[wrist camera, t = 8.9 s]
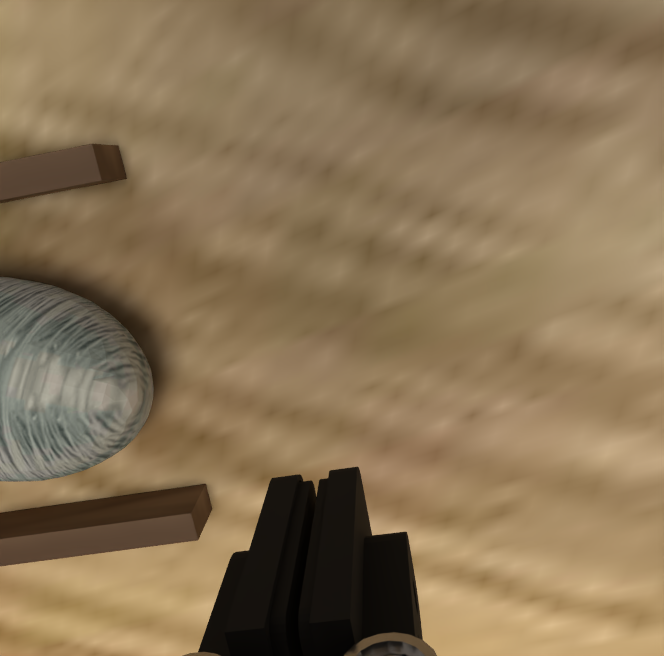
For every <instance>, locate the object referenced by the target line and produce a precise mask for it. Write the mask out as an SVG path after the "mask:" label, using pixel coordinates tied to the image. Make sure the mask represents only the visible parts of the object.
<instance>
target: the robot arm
mask: <svg viewBox="0 0 664 656" xmlns="http://www.w3.org/2000/svg"><path fill="white" fill-rule="evenodd" d="M184 656H437V655H436V653H435V651H434V649H432V648H431V647H430V646H429V645H428V644H427V643H425V642H424V641H423V639H422V629H421V620H420V611H419V603H418V595H417V588H416V581H415V575H414V569H413V563H412V557H411V551H410V545H409V540H408V535H407V532H399V533H391V534H382V535H374V536H372V532H371V527H370V522H369V516H368V511H367V506H366V501H365V495H364V490H363V485H362V479H361V474H360V470H359V468H358V467H352V468H345V469H337V470H330V471H329V477H328V478H327V479H320V480H319V485H318V492H317V497H316V493H315V488H314V484H313V482H312V481H304V482H303V479H302V476H301V475H292V476H285V477H277V478H272V479H271V481H270V484H269V487H268V490H267V494H266V497H265V500H264V503H263V507H262V510H261V513H260V517H259V520H258V523H257V526H256V530H255V533H254V536H253V539H252V543H251V546H250V549H249V551H241V552H235V553H234V554H233V555H232V557H231V559H230V561H229V564H228V567H227V570H226V573H225V576H224V578H223V581H222V584H221V587H220V590H219V593H218V596H217V599H216V602H215V605H214V608H213V610H212V613H211V616H210V619H209V622H208V625H207V628H206V631H205V634H204V637H203V639H202V642H201V645H200V648H199V651H198V653H189V654H187V655H184Z"/></svg>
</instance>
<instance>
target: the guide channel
mask: <svg viewBox="0 0 664 656" xmlns="http://www.w3.org/2000/svg"><path fill="white" fill-rule="evenodd" d="M122 179H127V178H126V174H125V170H124V166H123V163H122V159H121V155H120V151H119V147H118V146H117V145H101V144H89V145H84V146H79V147H74V148H69V149H64V150H59V151H54V152H49V153H44V154H39V155H34V156H29V157H24V158H20V159H15V160H10V161H5V162H0V203H4V202H9V201H14V200H20V199H25V198H30V197H35V196H40V195H45V194H50V193H55V192H61V191H66V190H71V189H76V188H81V187H86V186H91V185H97V184H102V183H107V182H112V181H117V180H122ZM211 511H212V507H211V503H210V499H209V495H208V492H207V488H206V484H203V485H196V486H189V487H182V488H175V489H168V490H161V491H154V492H147V493H139V494H132V495H125V496H118V497H111V498H104V499H97V500H90V501H83V502H76V503H69V504H61V505H54V506H47V507H40V508H33V509H26V510H19V511H12V512H5V513H0V566H6V565H14V564H21V563H29V562H36V561H44V560H52V559H59V558H67V557H74V556H82V555H89V554H97V553H105V552H112V551H120V550H127V549H135V548H142V547H150V546H158V545H165V544H173V543H180V542H188V541H196V540H198V539H199V537H200V535H201V533H202V531H203V528H204V526H205V524H206V522H207V519H208V517H209V515H210V513H211Z"/></svg>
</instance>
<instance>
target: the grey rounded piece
mask: <svg viewBox="0 0 664 656" xmlns="http://www.w3.org/2000/svg"><path fill="white" fill-rule="evenodd" d="M153 391H154V388H153V379H152V372H151V368H150V366H149V363H148V361H147V359H146V357H145V355H144V353H143V351H142V349H141V348H140V346H139V345H138V343H137V342H136V341H135V339H134V338H133V336H132V335H131V334H130V333H129V331H128V330H127V329H126V328H125V327H124V326H123V325H122V324H121V323H120V322H119V321H118V320H116V319H115V318H114V317H113V316H112V315H111V314H110V313H108V312H107V311H105V310H103V309H102V308H100V307H99V306H98V305H96V304H95V303H94V302H92V301H90V300H88V299H85V298H83V297H81V296H79V295H76V294H74V293H71V292H69V291H66V290H64V289H61V288H59V287H56V286H52V285H48V284H45V283H40V282H35V281H29V280H21V279H16V278H11V277H0V481H42V480H47V479H53V478H59V477H63V476H67V475H70V474H73V473H77V472H80V471H83V470H86V469H88V468H90V467H92V466H94V465H96V464H99V463H101V462H103V461H104V460H106V459H108V458H110V457H111V456H113V455H115V454H116V453H117V452H119V451H120V450H122V449H123V448H125V447H126V446H127V445H128V444H129V443H130V442H131V441H132V440H133V439H134V438H135V437H136V435H137V434H138V433H139V431H140V430H141V428H142V427H143V425H144V424H145V422H146V420H147V418H148V416H149V413H150V409H151V406H152V401H153Z"/></svg>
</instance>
